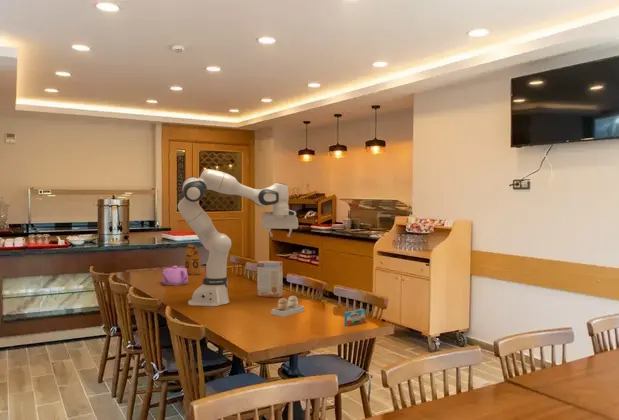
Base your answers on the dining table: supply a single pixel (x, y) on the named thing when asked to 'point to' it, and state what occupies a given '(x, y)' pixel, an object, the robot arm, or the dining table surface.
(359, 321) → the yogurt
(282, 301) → the brown egg
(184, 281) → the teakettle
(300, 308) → the carton
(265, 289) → the cracker box
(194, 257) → the coffee package
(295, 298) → the cream egg
